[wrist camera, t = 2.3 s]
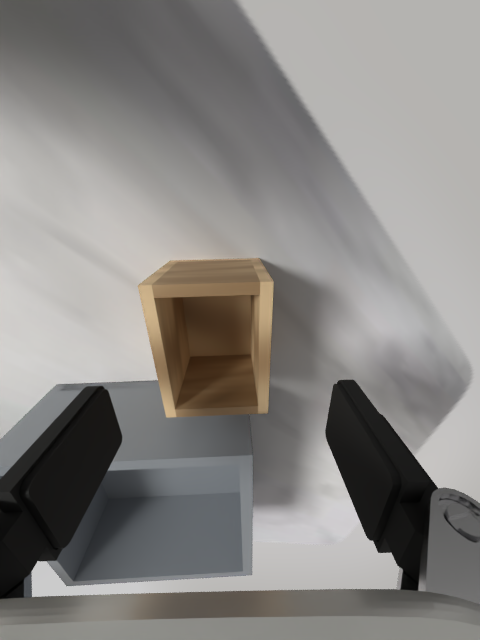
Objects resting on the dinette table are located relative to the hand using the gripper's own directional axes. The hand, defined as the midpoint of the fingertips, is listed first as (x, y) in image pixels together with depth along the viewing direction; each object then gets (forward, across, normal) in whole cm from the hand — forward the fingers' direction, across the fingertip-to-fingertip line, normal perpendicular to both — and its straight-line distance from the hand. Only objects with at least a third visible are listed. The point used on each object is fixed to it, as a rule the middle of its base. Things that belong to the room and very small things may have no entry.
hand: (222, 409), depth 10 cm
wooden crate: (+9, +1, -1) cm, 9 cm away
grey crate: (+9, +7, +13) cm, 17 cm away
